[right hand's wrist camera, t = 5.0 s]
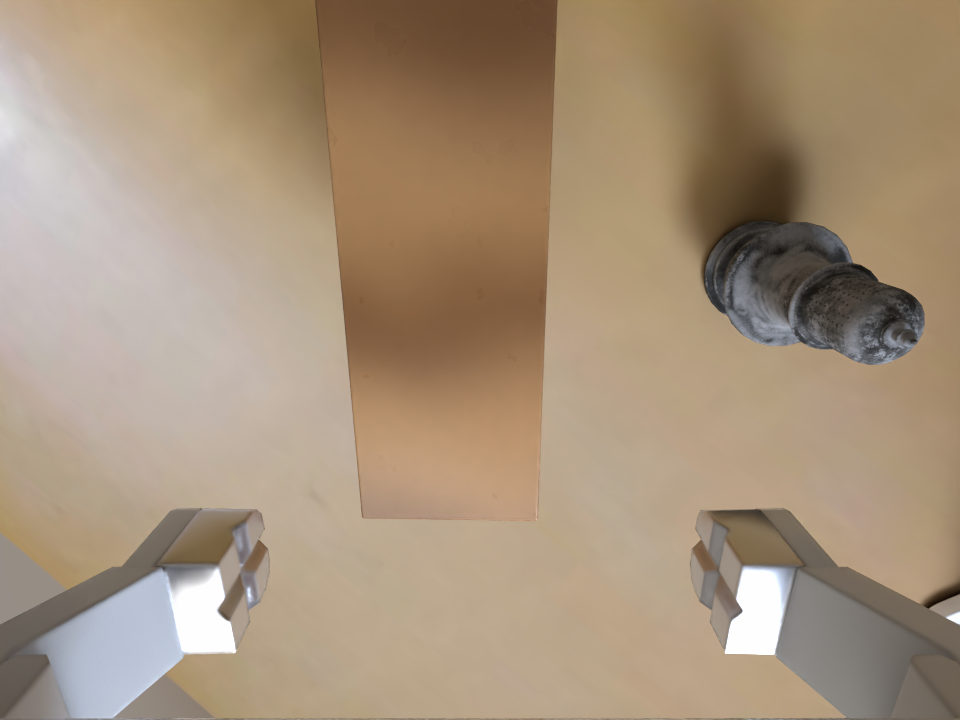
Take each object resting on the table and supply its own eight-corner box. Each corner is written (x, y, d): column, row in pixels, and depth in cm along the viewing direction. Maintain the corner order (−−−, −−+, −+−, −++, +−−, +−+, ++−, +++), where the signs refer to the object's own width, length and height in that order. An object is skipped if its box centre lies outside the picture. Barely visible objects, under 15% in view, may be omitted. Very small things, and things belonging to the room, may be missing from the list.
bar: (524, 398, 24) (537, 521, 16) (407, 397, 24) (361, 518, 16) (543, -347, 16) (590, -863, 8) (369, -341, 16) (237, -845, 8)
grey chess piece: (675, 283, 30) (783, 360, 18) (756, 190, 28) (930, 212, 17) (754, 345, 31) (903, 454, 20) (836, 260, 29) (1052, 324, 18)
